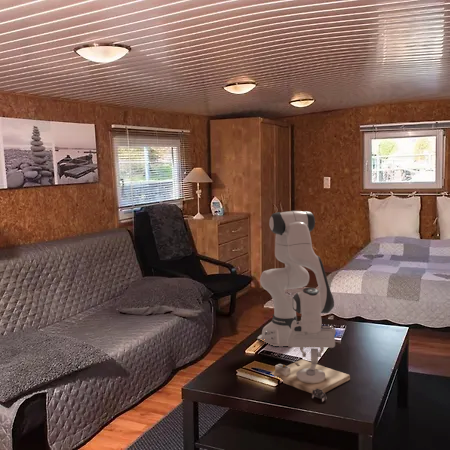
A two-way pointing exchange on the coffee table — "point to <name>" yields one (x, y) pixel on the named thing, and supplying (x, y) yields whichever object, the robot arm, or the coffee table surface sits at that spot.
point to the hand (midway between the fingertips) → (311, 356)
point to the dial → (311, 370)
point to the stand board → (289, 377)
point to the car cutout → (319, 394)
